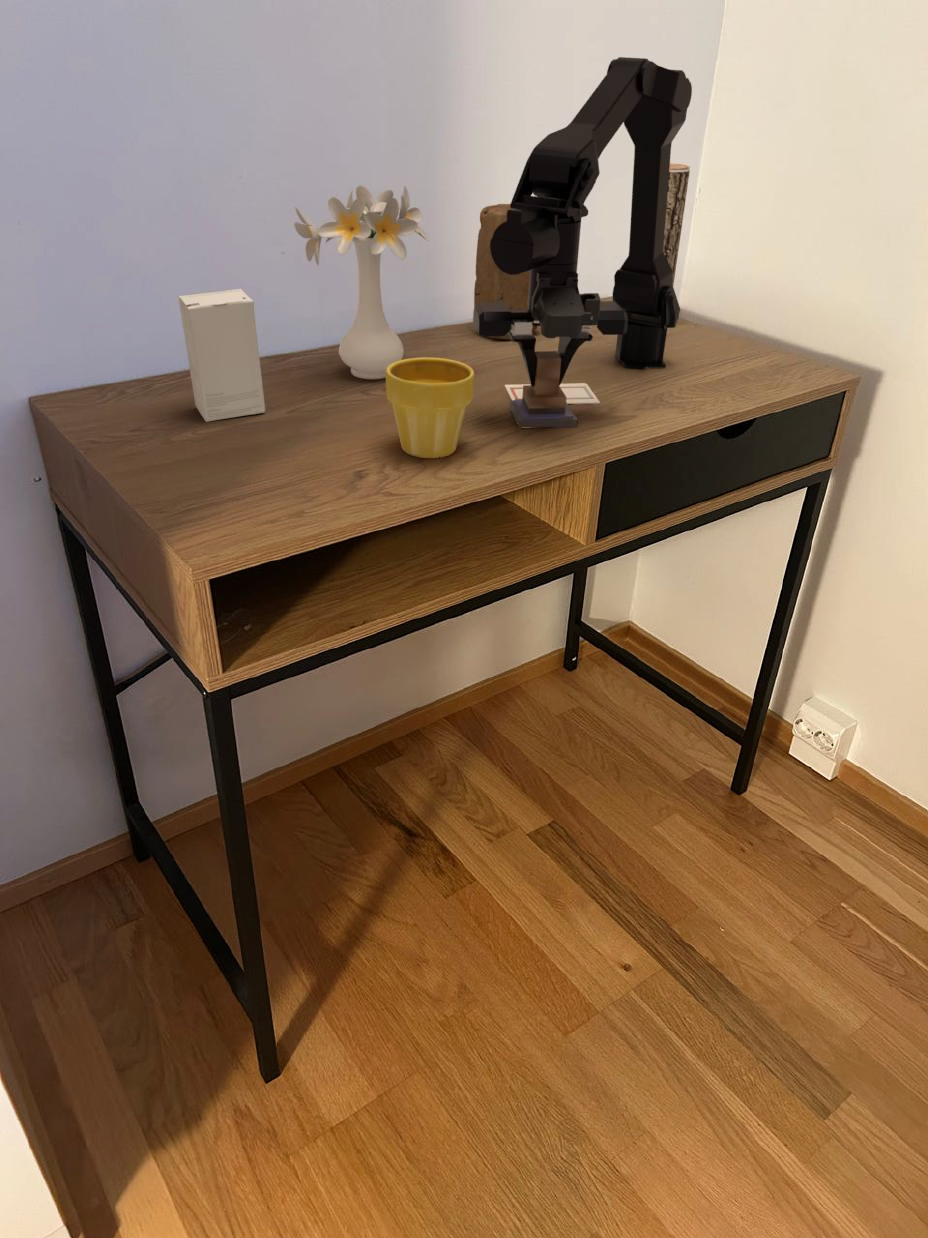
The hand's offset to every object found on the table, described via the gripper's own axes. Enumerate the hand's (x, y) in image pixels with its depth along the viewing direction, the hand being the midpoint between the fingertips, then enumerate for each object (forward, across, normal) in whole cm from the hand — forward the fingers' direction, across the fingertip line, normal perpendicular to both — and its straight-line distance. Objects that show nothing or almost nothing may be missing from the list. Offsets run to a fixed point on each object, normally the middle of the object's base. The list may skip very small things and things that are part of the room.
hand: (544, 385), depth 123 cm
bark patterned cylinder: (+5, +28, +44) cm, 53 cm away
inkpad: (+4, 0, 0) cm, 4 cm away
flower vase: (+4, -22, +18) cm, 29 cm away
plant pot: (+4, -16, -10) cm, 19 cm away
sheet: (+4, +3, +8) cm, 10 cm away
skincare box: (+4, -41, +4) cm, 41 cm away
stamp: (+3, 0, 0) cm, 3 cm away
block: (+5, +2, +38) cm, 39 cm away
